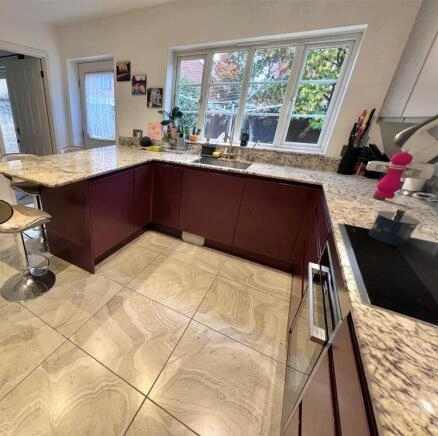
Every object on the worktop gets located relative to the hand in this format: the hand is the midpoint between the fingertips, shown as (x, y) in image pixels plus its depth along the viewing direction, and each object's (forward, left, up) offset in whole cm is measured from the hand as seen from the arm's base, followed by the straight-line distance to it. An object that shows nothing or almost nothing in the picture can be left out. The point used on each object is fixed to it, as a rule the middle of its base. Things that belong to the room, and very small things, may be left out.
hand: (395, 171), depth 95 cm
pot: (-9, -2, -26) cm, 28 cm away
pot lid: (-9, -2, -17) cm, 19 cm away
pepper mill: (+1, -1, -11) cm, 11 cm away
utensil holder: (+53, -37, -27) cm, 70 cm away
